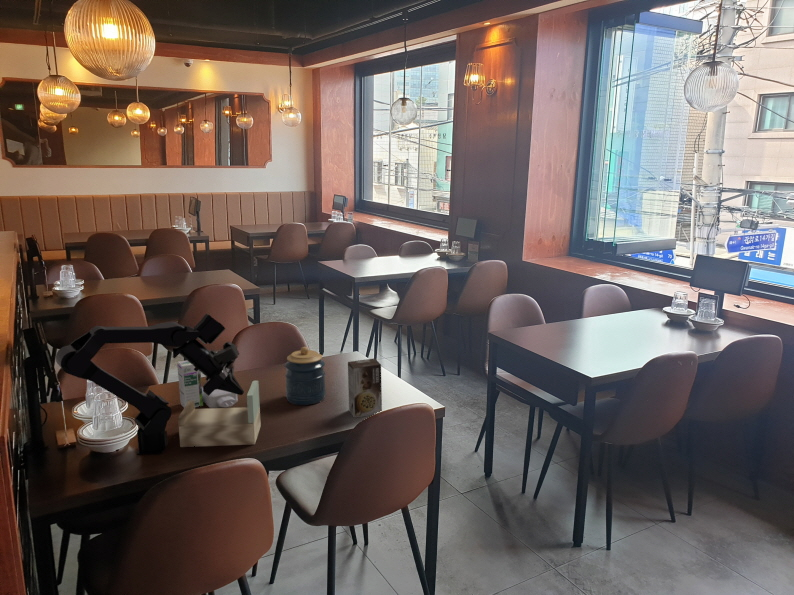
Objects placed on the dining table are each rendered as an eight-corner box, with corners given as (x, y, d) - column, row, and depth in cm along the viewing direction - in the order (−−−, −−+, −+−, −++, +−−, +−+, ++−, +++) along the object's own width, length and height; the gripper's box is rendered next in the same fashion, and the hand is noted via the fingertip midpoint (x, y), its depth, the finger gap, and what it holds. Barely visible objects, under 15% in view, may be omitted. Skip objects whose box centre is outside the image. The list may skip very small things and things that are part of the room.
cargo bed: (180, 447, 167) (178, 417, 165) (190, 428, 178) (188, 401, 176) (254, 444, 168) (253, 415, 166) (260, 426, 180) (259, 398, 178)
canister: (321, 389, 209) (320, 339, 206) (329, 403, 197) (328, 350, 194) (283, 393, 205) (281, 343, 202) (289, 408, 193) (287, 354, 190)
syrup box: (185, 410, 191) (181, 366, 188) (180, 404, 196) (176, 360, 193) (203, 406, 195) (200, 362, 191) (198, 400, 199) (195, 357, 196)
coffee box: (375, 406, 195) (375, 357, 191) (382, 413, 189) (382, 363, 186) (348, 410, 192) (347, 361, 188) (354, 418, 186) (353, 367, 182)
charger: (216, 416, 188) (200, 400, 200) (245, 409, 193) (227, 394, 205) (215, 401, 187) (199, 387, 199) (244, 395, 192) (227, 381, 204)
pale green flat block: (248, 423, 167) (246, 395, 165) (254, 406, 178) (253, 380, 177) (253, 422, 167) (252, 395, 165) (259, 406, 178) (258, 380, 177)
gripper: (212, 346, 158) (258, 385, 161) (226, 327, 176) (266, 363, 179) (183, 376, 159) (229, 414, 162) (200, 354, 177) (240, 389, 180)
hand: (242, 393), depth 171 cm, fingers closed
